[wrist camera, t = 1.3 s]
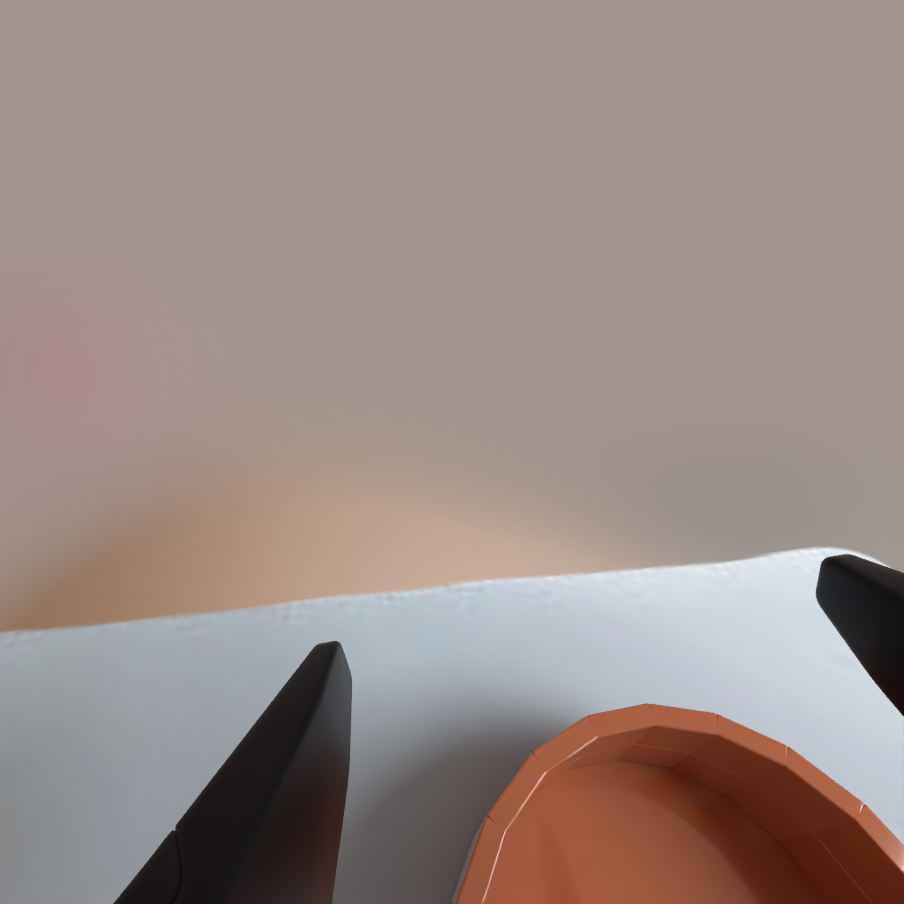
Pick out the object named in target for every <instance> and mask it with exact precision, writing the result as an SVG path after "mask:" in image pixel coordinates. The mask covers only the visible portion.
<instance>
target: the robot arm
mask: <svg viewBox="0 0 904 904" xmlns="http://www.w3.org/2000/svg"><path fill="white" fill-rule="evenodd" d="M816 598H817V601H818V603H819V605H820V607H821V608H822V610H823V611H824V612H825V614H826V615H827V617H828V618H829V619H830V621H831V622H832V624H833V625H834V626H835V628H836V629H837V631H838V632H839V633H840V635H841V636H842V638H843V639H844V640H845V642H846V643H847V645H848V646H849V647H850V649H851V650H852V652H853V653H854V654H855V656H856V657H857V659H858V660H859V661H860V663H861V664H862V666H863V667H864V668H865V670H866V671H867V672H868V674H869V675H870V676H871V678H872V679H873V680H874V682H875V683H876V684H877V685H878V687H879V688H880V689H881V690H882V692H883V693H884V694H885V695H886V696H887V698H888V699H889V700H890V701H891V702H892V703H893V705H894V706H895V707H896V708H897V709H898V710H899V712H900V713H901V714H902V715H903V716H904V573H902V572H899V571H897V570H894V569H891V568H888V567H885V566H882V565H879V564H877V563H874V562H871V561H868V560H865V559H862V558H859V557H857V556H854V555H849V554H843V555H838V556H832V557H827V558H825V559H824V560H823V561H822V563H821V567H820V572H819V577H818V583H817V588H816ZM351 702H352V678H351V672H350V669H349V666H348V663H347V660H346V657H345V654H344V651H343V648H342V646H341V644H340V643H339V642H338V641H332V642H327V643H321V644H318V645H316V646H315V647H314V648H313V649H312V651H311V652H310V653H309V655H308V656H307V657H306V658H305V660H304V661H303V662H302V664H301V665H300V666H299V668H298V669H297V670H296V671H295V673H294V674H293V675H292V677H291V678H290V679H289V680H288V682H287V683H286V684H285V686H284V687H283V688H282V689H281V691H280V692H279V693H278V695H277V696H276V697H275V698H274V700H273V701H272V702H271V704H270V705H269V706H268V707H267V709H266V710H265V711H264V713H263V714H262V715H261V716H260V718H259V719H258V720H257V722H256V723H255V724H254V725H253V727H252V728H251V729H250V731H249V732H248V733H247V734H246V736H245V737H244V738H243V740H242V741H241V742H240V743H239V745H238V746H237V747H236V749H235V750H234V751H233V752H232V754H231V755H230V756H229V758H228V759H227V760H226V761H225V763H224V764H223V765H222V767H221V768H220V769H219V770H218V772H217V773H216V774H215V776H214V777H213V778H212V780H211V781H210V782H209V783H208V785H207V786H206V787H205V789H204V790H203V791H202V792H201V794H200V795H199V796H198V798H197V799H196V800H195V801H194V803H193V804H192V805H191V807H190V808H189V809H188V810H187V812H186V813H185V814H184V816H183V817H182V818H181V819H180V821H179V822H178V823H177V825H176V828H175V829H176V831H175V830H174V831H171V832H170V833H169V835H168V836H167V837H166V838H165V840H164V841H163V842H162V844H161V845H160V846H159V847H158V849H157V850H156V851H155V853H154V854H153V855H152V856H151V858H150V859H149V860H148V861H147V863H146V864H145V865H144V866H143V868H142V869H141V870H140V871H139V873H138V874H137V875H136V876H135V878H134V879H133V880H132V881H131V883H130V884H129V885H128V886H127V888H126V889H125V890H124V891H123V892H122V894H121V895H120V896H119V897H118V899H117V900H116V901H115V902H114V903H113V904H332V896H333V889H334V882H335V874H336V867H337V860H338V852H339V845H340V838H341V830H342V823H343V816H344V808H345V801H346V794H347V786H348V777H349V763H350V735H351Z"/></svg>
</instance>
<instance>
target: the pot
mask: <svg viewBox="0 0 904 904" xmlns="http://www.w3.org/2000/svg"><path fill="white" fill-rule="evenodd" d="M451 904H904V845H903V844H902V843H901V842H900V841H899V840H898V839H897V838H896V837H895V836H894V834H893V833H892V832H891V831H890V830H889V829H888V828H887V827H886V826H885V825H884V824H883V823H882V821H881V820H880V819H879V818H878V817H877V816H876V815H875V814H874V813H873V812H872V811H871V810H870V808H869V807H868V806H867V805H864V803H863V802H862V801H860V800H859V799H858V798H856V797H855V796H854V795H852V794H851V793H850V792H848V791H847V790H846V789H844V788H843V787H842V786H840V785H839V784H838V783H836V782H835V781H834V780H832V779H831V778H830V777H829V776H827V775H826V774H825V773H823V772H822V771H821V770H819V769H818V768H817V767H815V766H814V765H813V764H811V763H810V762H809V761H807V760H806V759H805V758H803V757H802V756H801V755H799V754H798V753H797V752H795V751H794V750H793V749H791V748H790V747H787V746H786V745H784V744H782V743H780V742H778V741H775V740H773V739H771V738H769V737H767V736H764V735H762V734H760V733H758V732H756V731H753V730H751V729H749V728H747V727H745V726H742V725H740V724H738V723H736V722H734V721H731V720H729V719H727V718H725V717H723V716H720V715H717V714H716V715H715V714H714V713H709V712H703V711H696V710H689V709H682V708H676V707H669V706H662V705H655V704H642V705H637V706H632V707H627V708H622V709H617V710H612V711H607V712H602V713H597V714H592V715H588V716H587V717H584V718H582V719H581V720H579V721H578V722H576V723H575V724H573V725H572V726H570V727H569V728H567V729H566V730H564V731H563V732H561V733H560V734H558V735H557V736H555V737H554V738H552V739H551V740H549V741H548V742H546V743H545V744H543V745H542V746H540V747H538V748H537V749H535V750H534V751H533V752H532V754H530V755H529V756H528V758H527V759H526V760H525V762H524V763H523V765H522V766H521V767H520V769H519V770H518V771H517V773H516V774H515V776H514V777H513V778H512V780H511V781H510V782H509V784H508V785H507V787H506V788H505V789H504V791H503V792H502V794H501V795H500V796H499V798H498V799H497V800H496V802H495V803H494V805H493V806H492V807H491V809H490V810H489V811H488V813H487V815H486V816H485V818H484V820H483V822H482V824H481V825H480V827H479V829H478V831H477V833H476V835H475V837H474V838H473V841H472V844H471V846H470V849H469V852H468V855H467V858H466V861H465V864H464V867H463V869H462V872H461V874H460V877H459V881H458V884H457V887H456V890H455V892H454V895H453V898H452V901H451Z"/></svg>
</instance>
